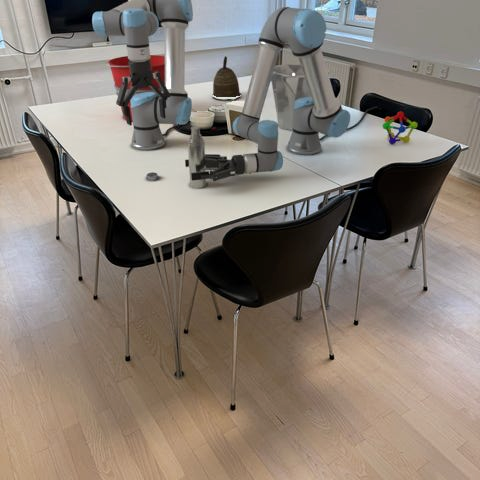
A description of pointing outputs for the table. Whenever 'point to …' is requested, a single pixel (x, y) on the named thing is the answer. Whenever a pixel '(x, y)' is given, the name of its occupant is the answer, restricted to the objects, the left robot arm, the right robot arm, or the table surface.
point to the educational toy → (398, 128)
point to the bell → (225, 82)
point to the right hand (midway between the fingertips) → (188, 169)
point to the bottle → (196, 156)
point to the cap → (152, 176)
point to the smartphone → (209, 165)
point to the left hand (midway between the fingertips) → (146, 120)
